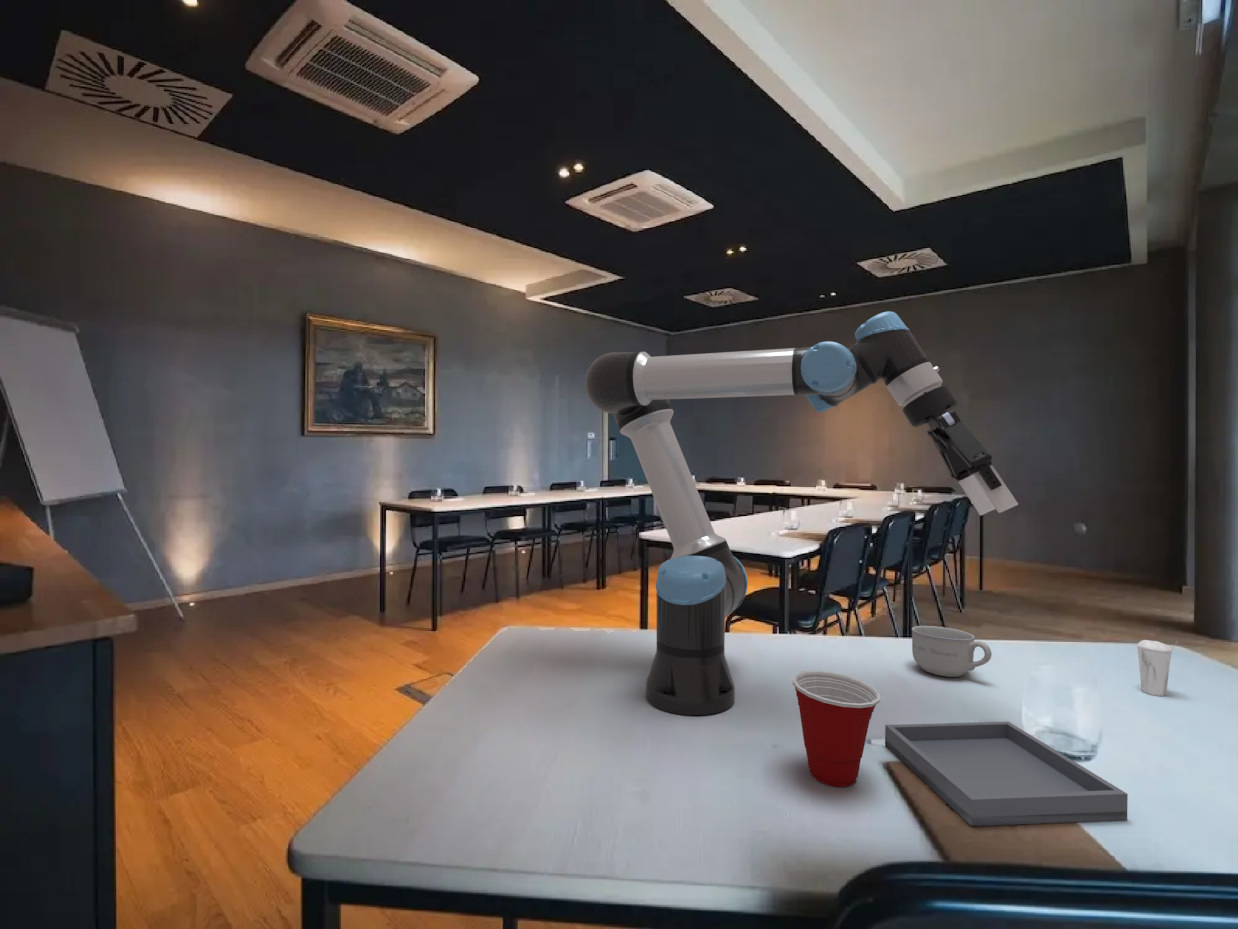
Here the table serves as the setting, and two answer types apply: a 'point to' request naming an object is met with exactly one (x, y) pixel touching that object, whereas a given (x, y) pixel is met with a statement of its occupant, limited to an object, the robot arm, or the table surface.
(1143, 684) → the milkshake
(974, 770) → the grey shallow square tray
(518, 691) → the table surface
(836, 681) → the plastic cup
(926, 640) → the teacup
